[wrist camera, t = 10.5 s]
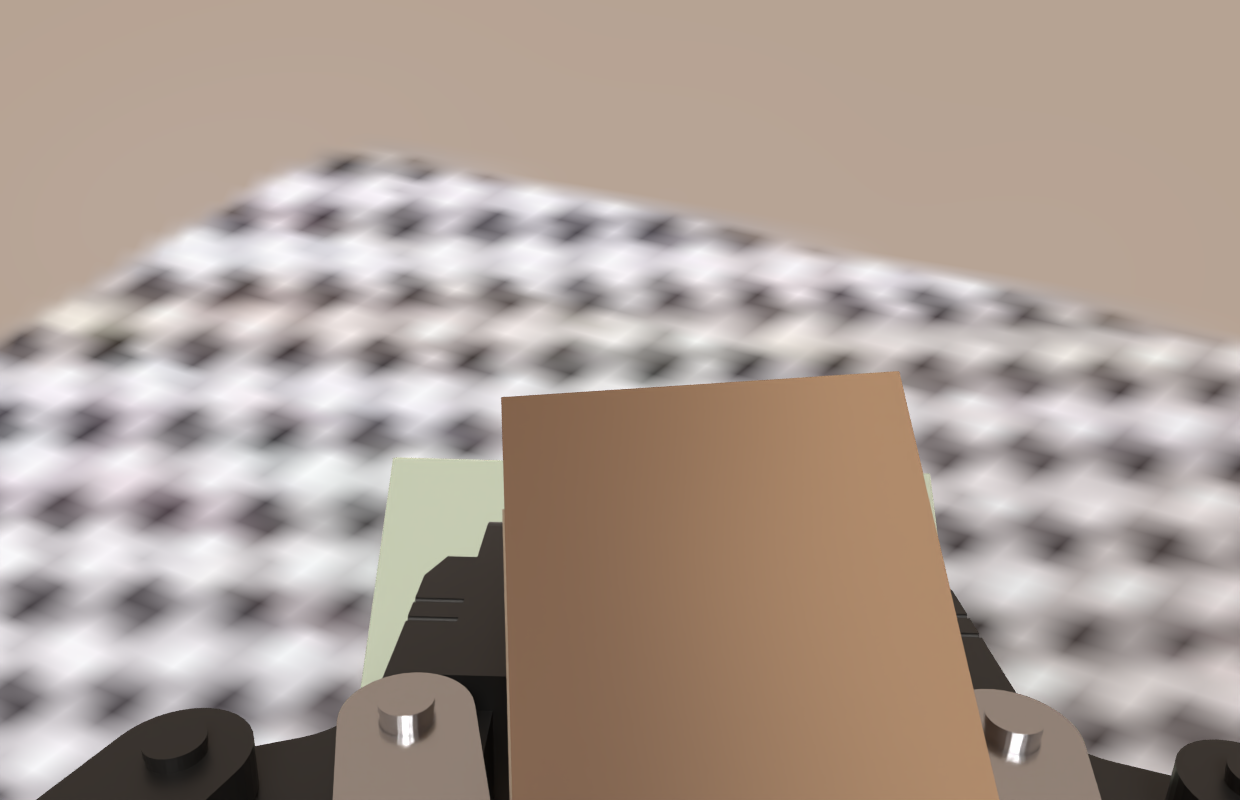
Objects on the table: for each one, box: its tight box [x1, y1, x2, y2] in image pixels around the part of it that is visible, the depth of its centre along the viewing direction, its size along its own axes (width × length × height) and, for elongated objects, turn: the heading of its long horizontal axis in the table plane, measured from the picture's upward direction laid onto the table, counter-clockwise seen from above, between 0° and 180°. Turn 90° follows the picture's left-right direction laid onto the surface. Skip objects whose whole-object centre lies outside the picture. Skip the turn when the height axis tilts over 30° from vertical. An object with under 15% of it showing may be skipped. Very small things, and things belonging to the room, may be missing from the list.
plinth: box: [361, 457, 937, 688], centre depth 17 cm, size 11×12×3 cm
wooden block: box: [501, 371, 999, 800], centre depth 12 cm, size 4×5×10 cm
